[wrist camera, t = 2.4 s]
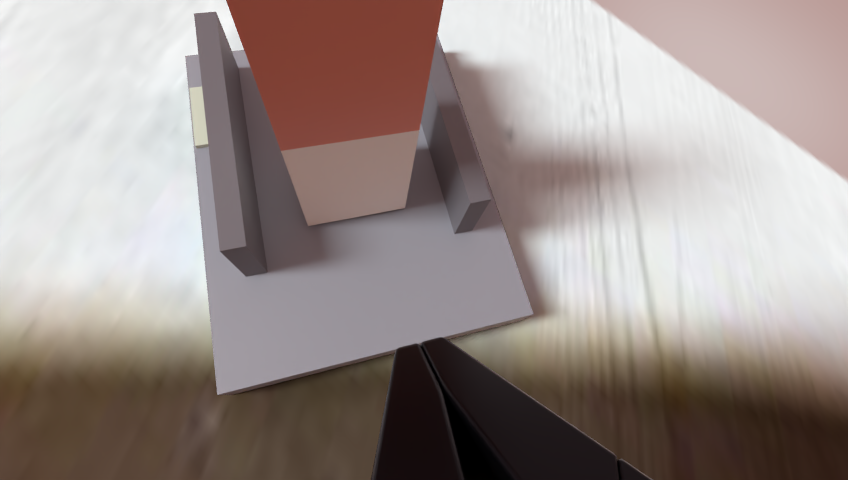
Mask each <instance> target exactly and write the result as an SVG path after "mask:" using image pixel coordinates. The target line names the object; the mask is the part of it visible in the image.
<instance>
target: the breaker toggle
mask: <svg viewBox="0 0 848 480" xmlns="http://www.w3.org/2000/svg"><path fill="white" fill-rule="evenodd" d="M226 1H227V4H228V7H229V9H230V12H231V15H232V18H233V20H234V23H235V26H236V29H237V31H238V34H239V37H240V40H241V42H242V45H243V48H244V51H245V53H246V56H247V59H248V62H249V64H250V67H251V70H252V73H253V76H254V78H255V81H256V84H257V87H258V89H259V92H260V95H261V98H262V100H263V103H264V106H265V109H266V111H267V114H268V117H269V120H270V122H271V125H272V128H273V131H274V133H275V136H276V139H277V142H278V144H279V147H280V150H281V153H282V155H283V158H284V161H285V164H286V166H287V169H288V172H289V175H290V177H291V180H292V183H293V186H294V188H295V191H296V194H297V197H298V200H299V202H300V205H301V208H302V211H303V213H304V216H305V219H306V222H307V224H308V226H312V225H317V224H322V223H328V222H333V221H338V220H344V219H349V218H354V217H360V216H365V215H370V214H376V213H381V212H387V211H392V210H397V209H403V208H405V205H406V200H407V195H408V189H409V184H410V178H411V173H412V168H413V162H414V157H415V151H416V146H417V141H418V135H419V130H420V124H421V119H422V114H423V108H424V103H425V97H426V92H427V87H428V81H429V76H430V70H431V65H432V59H433V54H434V49H435V43H436V38H437V32H438V27H439V22H440V16H441V11H442V5H443V0H226Z"/></svg>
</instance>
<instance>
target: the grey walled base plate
mask: <svg viewBox="0 0 848 480" xmlns="http://www.w3.org/2000/svg"><path fill="white" fill-rule="evenodd" d="M194 16H195V26H196V35H197V44H198V54H199V55H191V56H185V57H186V68H187V78H188V89H189V99H190V110H191V120H192V131H193V142H194V152H195V163H196V173H197V184H198V195H199V205H200V216H201V226H202V237H203V248H204V258H205V269H206V279H207V290H208V300H209V311H210V322H211V332H212V343H213V353H214V364H215V375H216V385H217V395H233V394H237V393H241V392H245V391H249V390H253V389H257V388H260V387H264V386H268V385H272V384H276V383H280V382H284V381H288V380H292V379H295V378H299V377H303V376H307V375H311V374H315V373H319V372H323V371H327V370H330V369H334V368H338V367H342V366H346V365H350V364H354V363H358V362H362V361H366V360H369V359H373V358H377V357H381V356H385V355H389V354H393V353H395V351H396V349H397V348H399V347H403V346H406V345H410V344H414V343H417V344H419V345H421V343H422V342H423V341H426V340H430V339H434V338H438V337H443V338H445V339H451V338H455V337H459V336H463V335H467V334H471V333H475V332H478V331H482V330H486V329H490V328H494V327H498V326H502V325H506V324H510V323H513V322H517V321H521V320H523V319H525V318H527V317H529V316H531V315H533V311H532V308H531V305H530V302H529V299H528V296H527V293H526V291H525V288H524V285H523V282H522V279H521V276H520V273H519V270H518V267H517V264H516V261H515V259H514V256H513V253H512V250H511V247H510V244H509V241H508V238H507V235H506V232H505V229H504V227H503V224H502V221H501V218H500V215H499V212H498V209H497V206H496V203H495V200H494V197H493V195H492V192H491V189H490V186H489V183H488V180H487V177H486V174H485V171H484V168H483V165H482V162H481V160H480V157H479V154H478V151H477V148H476V145H475V142H474V139H473V136H472V133H471V130H470V128H469V125H468V122H467V119H466V116H465V113H464V110H463V107H462V104H461V101H460V98H459V96H458V93H457V90H456V87H455V84H454V81H453V78H452V75H451V72H450V69H449V66H448V64H447V61H446V58H445V55H444V52H443V49H442V46H441V43H440V40H439V37H438V34H437V38H436V43H435V49H434V54H433V59H432V65H431V70H430V76H429V81H428V87H427V92H426V97H425V103H424V108H423V114H422V119H421V124H420V130H419V135H418V141H417V146H416V151H415V157H414V162H413V168H412V173H411V178H410V184H409V189H408V195H407V200H406V205H405V208H403V209H397V210H392V211H387V212H381V213H376V214H370V215H365V216H360V217H354V218H349V219H344V220H338V221H333V222H328V223H322V224H317V225H312V226H308V224H307V222H306V219H305V216H304V213H303V211H302V208H301V205H300V202H299V200H298V197H297V194H296V191H295V188H294V186H293V183H292V180H291V177H290V175H289V172H288V169H287V166H286V164H285V161H284V158H283V155H282V153H281V150H280V147H279V144H278V142H277V139H276V136H275V133H274V131H273V128H272V125H271V122H270V120H269V117H268V114H267V111H266V109H265V106H264V103H263V100H262V98H261V95H260V92H259V89H258V87H257V84H256V81H255V78H254V76H253V73H252V70H251V67H250V64H249V62H248V59H247V56H246V53H245V51H244V50H240V51H231V48H230V46H229V43H228V41H227V38H226V36H225V33H224V31H223V28H222V26H221V23H220V21H219V18H218V16H217V13H216V12H208V13H196V14H194Z"/></svg>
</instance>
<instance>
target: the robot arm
mask: <svg viewBox="0 0 848 480" xmlns="http://www.w3.org/2000/svg"><path fill="white" fill-rule="evenodd" d="M371 480H653V479H651V478H649V477H648V476H647V475H645V474H644V473H642V472H641V471H639V470H638V469H636V468H635V467H633V466H632V465H630V464H629V463H627V462H626V461H625V460H623V459H619V460H618V461H617V456H616V455H615V454H614V453H612V452H611V451H609V450H608V449H607V448H605V447H604V446H602V445H601V444H599V443H598V442H596V441H595V440H593V439H592V438H590V437H589V436H588V435H586V434H585V433H583V432H582V431H580V430H579V429H577V428H576V427H574V426H573V425H571V424H570V423H568V422H567V421H566V420H564V419H563V418H561V417H560V416H558V415H557V414H555V413H554V412H552V411H551V410H549V409H548V408H547V407H545V406H544V405H542V404H541V403H539V402H538V401H536V400H535V399H533V398H532V397H530V396H529V395H527V394H526V393H525V392H523V391H522V390H520V389H519V388H517V387H516V386H514V385H513V384H511V383H510V382H508V381H507V380H505V379H504V378H503V377H501V376H500V375H498V374H497V373H495V372H494V371H492V370H491V369H489V368H488V367H486V366H485V365H484V364H482V363H481V362H479V361H478V360H476V359H475V358H473V357H472V356H470V355H469V354H467V353H466V352H464V351H463V350H462V349H460V348H459V347H457V346H456V345H454V344H453V343H451V342H450V341H448V340H447V339H445V338H443V337H438V338H434V339H430V340H426V341H423V342H422V343H421V345H419V344H417V343H414V344H410V345H406V346H403V347H399V348H397V349H396V351H395V356H394V361H393V367H392V372H391V377H390V382H389V388H388V393H387V398H386V403H385V409H384V414H383V419H382V424H381V430H380V435H379V440H378V445H377V451H376V456H375V461H374V466H373V472H372V477H371Z"/></svg>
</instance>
